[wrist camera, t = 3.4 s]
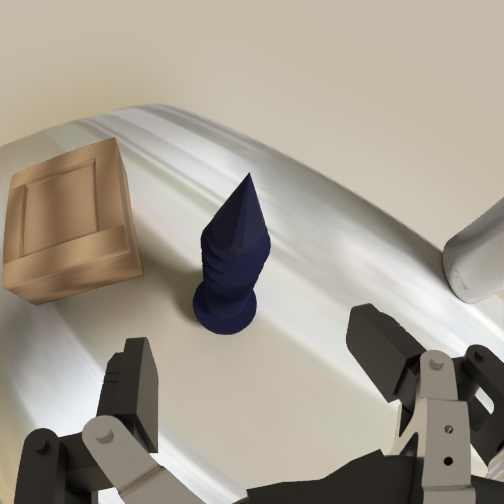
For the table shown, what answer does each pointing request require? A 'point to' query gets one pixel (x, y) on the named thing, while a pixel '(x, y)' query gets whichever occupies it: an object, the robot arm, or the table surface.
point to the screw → (232, 262)
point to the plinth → (70, 226)
